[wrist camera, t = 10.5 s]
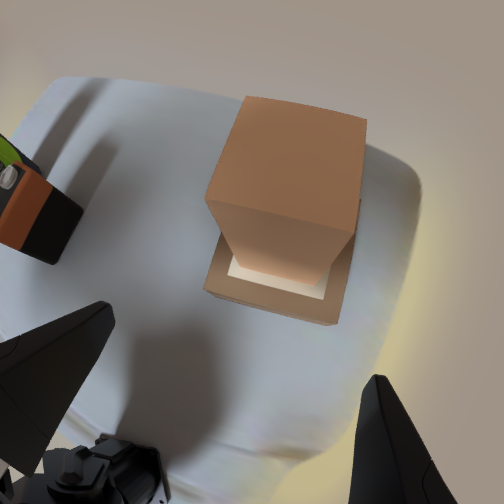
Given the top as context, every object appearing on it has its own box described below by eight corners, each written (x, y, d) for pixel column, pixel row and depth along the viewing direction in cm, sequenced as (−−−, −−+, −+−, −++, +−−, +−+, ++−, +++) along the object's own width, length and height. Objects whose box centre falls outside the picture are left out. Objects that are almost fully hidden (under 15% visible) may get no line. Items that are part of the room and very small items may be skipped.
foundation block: (326, 326, 21) (337, 324, 18) (215, 296, 23) (203, 288, 19) (348, 220, 24) (361, 199, 20) (247, 195, 25) (241, 171, 21)
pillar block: (314, 286, 18) (354, 232, 9) (240, 267, 19) (204, 198, 10) (329, 216, 20) (366, 119, 10) (260, 199, 20) (245, 95, 11)
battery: (86, 210, 26) (25, 162, 17) (56, 267, 25) (-14, 237, 15) (64, 197, 27) (8, 152, 18) (36, 250, 26) (-27, 218, 16)
